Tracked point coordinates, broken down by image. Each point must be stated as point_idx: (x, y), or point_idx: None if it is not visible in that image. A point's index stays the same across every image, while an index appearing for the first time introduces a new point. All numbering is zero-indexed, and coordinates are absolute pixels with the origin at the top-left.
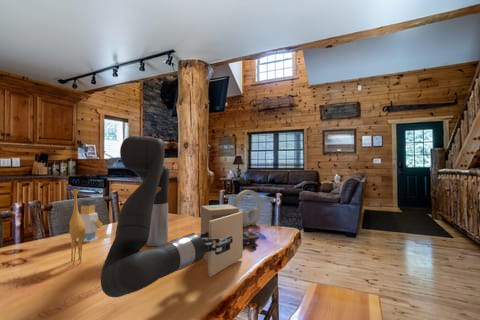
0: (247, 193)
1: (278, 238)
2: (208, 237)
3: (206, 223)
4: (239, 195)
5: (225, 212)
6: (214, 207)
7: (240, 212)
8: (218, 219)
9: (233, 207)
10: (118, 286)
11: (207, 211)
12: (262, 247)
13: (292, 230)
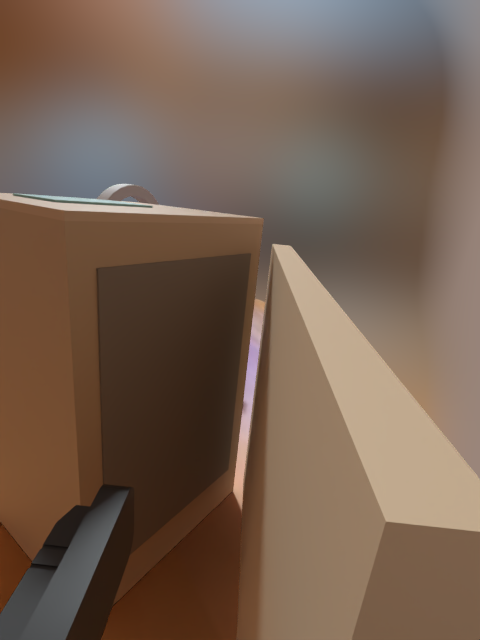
0: (131, 194)
1: (254, 331)
2: (123, 558)
3: (28, 341)
4: (107, 198)
5: (197, 243)
6: (84, 201)
7: (283, 246)
8: (370, 347)
9: (218, 213)
10: None
11: (31, 227)
12: (250, 378)
13: (256, 302)
